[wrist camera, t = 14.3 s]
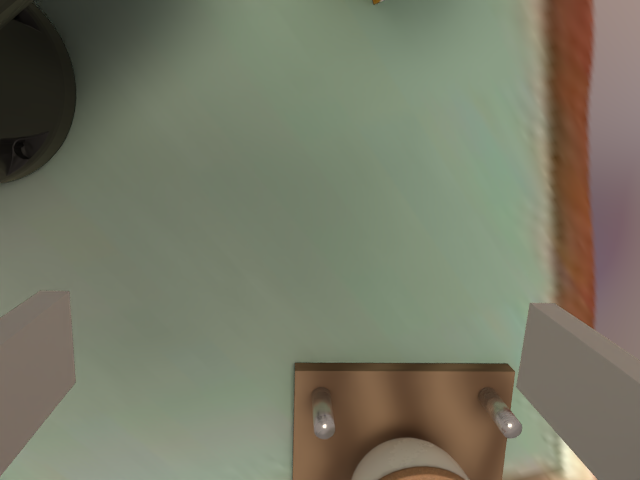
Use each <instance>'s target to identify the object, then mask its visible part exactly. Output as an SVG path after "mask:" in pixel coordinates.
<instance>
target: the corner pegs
mask: <svg viewBox="0 0 640 480" xmlns="http://www.w3.org/2000/svg"><path fill="white" fill-rule="evenodd" d="M478 399H479V401H480V402H481V404H482V405H483V406H484V408H485V409H486V411H487V412H488V414H489V415H490V416H491V418H492V419H493V421H494V422H495V424H496V425H497V426H498V428H499V429H500V431H501V432H502V434H503V435H504V436H505V437H507V438H515V437H517V436H518V435H519V434H520V433H521V431H522V425H521V423H520V422H519V421H518V419H517V418H516V417H515V415H514V414H513V413H512V412H511V410H510V409H509V408H508V407H507V405H506V404H505V403H504V401H503V400H502V399H501V398H500V396H499V395H498V394H497V393H496V391H495V390H494V389H493V388H491V387H485V388H483V389H481V390H480V391H479V393H478ZM312 409H313V423H314V433H315V435H316V436H317V437H318V438H320V439H328V438H330V437H332V436H333V434H334V433H335V424H334V417H333V410H332V403H331V396H330V392H329V390H328V389H327V388H325V387H317V388H316V389H314V390H313V392H312Z"/></svg>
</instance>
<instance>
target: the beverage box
mask: <svg viewBox="0 0 640 480" xmlns="http://www.w3.org/2000/svg"><path fill="white" fill-rule="evenodd" d="M372 1H373V4H374V5H375V4H377V3H380V2H382V1H385V0H372Z"/></svg>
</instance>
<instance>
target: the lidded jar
mask: <svg viewBox="0 0 640 480" xmlns="http://www.w3.org/2000/svg"><path fill="white" fill-rule="evenodd" d="M351 480H470V479H469V478H468V476H467V475H466V474H465V472H464V471H463V469H462V468H461V467H460V465H459V464H458V463H457V462H456V461H455V460H454V459H453V458H452V457H451V456H450V455H449V454H448V453H447V452H445V451H444V450H442V449H441V448H439V447H438V446H436V445H435V444H432V443H430V442H428V441H425V440H421V439H417V438H410V437H407V438H396V439H391V440H388V441H385V442H383V443H381V444H379V445H377V446H376V447H374V448H373V449H372V450H370V451H369V452H368V453H367V454H366V455H365V456H364V457H363V459H362V460H361V461H360V462H359V464H358V465H357V467H356V469H355V471H354V473H353V476H352V478H351Z"/></svg>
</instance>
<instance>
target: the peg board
mask: <svg viewBox="0 0 640 480" xmlns="http://www.w3.org/2000/svg"><path fill="white" fill-rule="evenodd" d="M514 376H515V371H514V370H513V369H512V368H511V367H510V366H509V365H508V364H453V363H295V391H294V440H293V480H351V478H352V476H353V473H354V471H355V469H356V467H357V465H358V464H359V462H360V461H361V460H362V459H363V457H364V456H365V455H366V454H367V453H368V452H369V451H370V450H372V449H373V448H374V447H376V446H377V445H379V444H381V443H383V442H385V441H388V440H391V439H396V438H407V437H410V438H417V439H421V440H425V441H428V442H430V443H432V444H435V445H436V446H438V447H439V448H441V449H442V450H444V451H445V452H447V453H448V454H449V455H450V456H451V457H452V458H453V459H454V460H455V461H456V462H457V463H458V464H459V465H460V467H461V468H462V469H463V471H464V472H465V474H466V475H467V476H468V478H469V479H470V480H502V474H503V466H504V458H505V450H506V441H507V437H505V436H504V435H503V434H502V432H501V431H500V429H499V428H498V426H497V425H496V424H495V422H494V421H493V419H492V418H491V416H490V415H489V414H488V412H487V411H486V409H485V408H484V406H483V405H482V404H481V402H480V401H479V399H478V393H479V391H480V390H481V389H483V388H485V387H491V388H493V389H494V390H495V391H496V393H497V394H498V395H499V396H500V398H501V399H502V400H503V401H504V403H505V404H506V405H507V407H508V408H509V409H511V401H512V392H513V384H514ZM317 387H325V388H327V389H328V390H329V392H330V396H331V403H332V410H333V417H334V424H335V433H334V434H333V436H332V437H330V438H328V439H320V438H318V437H317V436H316V435H315V433H314V423H313V409H312V392H313V390H314V389H316V388H317Z"/></svg>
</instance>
